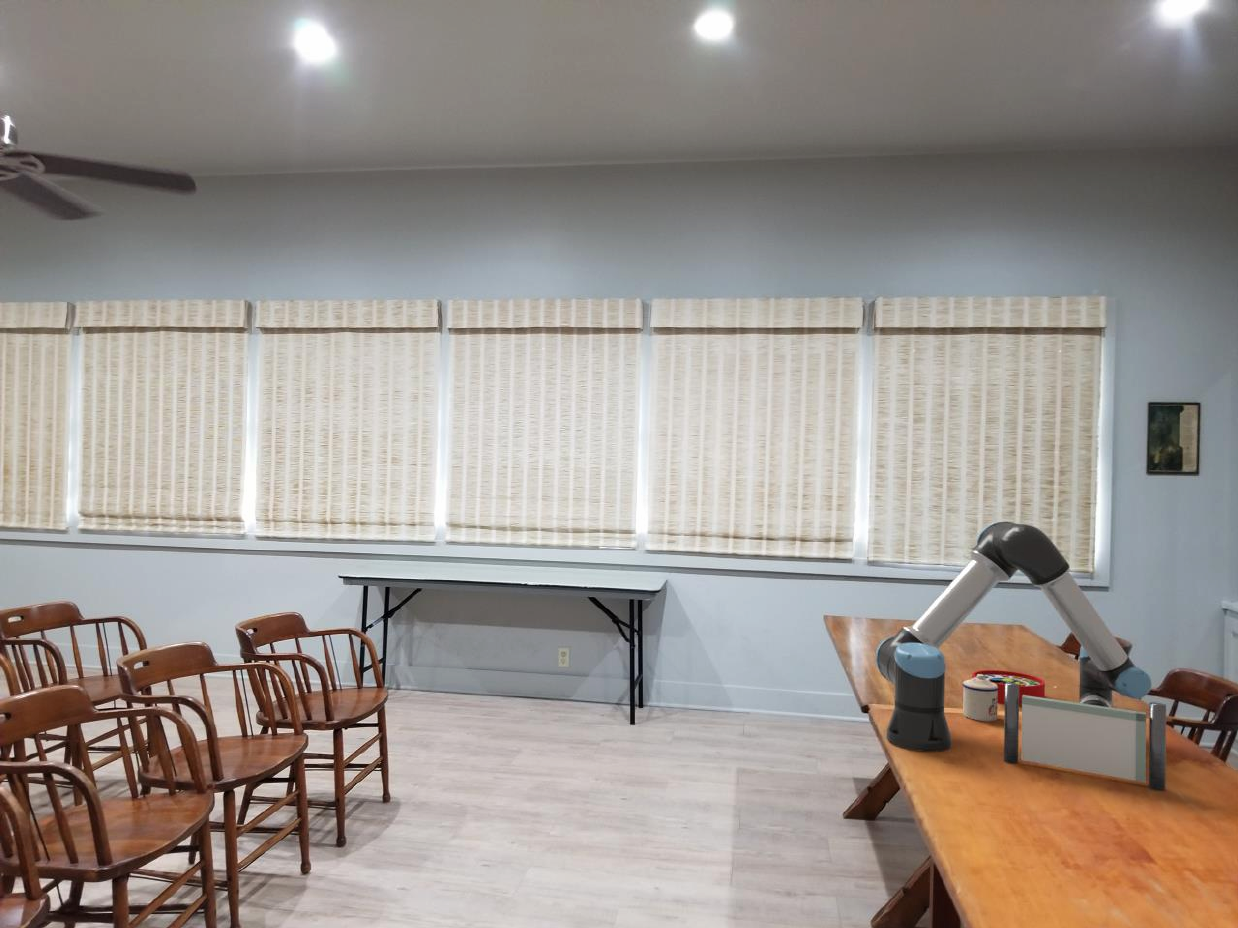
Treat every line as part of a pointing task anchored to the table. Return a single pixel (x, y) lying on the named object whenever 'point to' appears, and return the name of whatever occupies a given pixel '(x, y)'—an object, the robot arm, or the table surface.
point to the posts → (1155, 736)
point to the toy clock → (1026, 682)
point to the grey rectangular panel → (1084, 737)
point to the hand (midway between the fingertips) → (1094, 739)
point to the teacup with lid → (980, 699)
